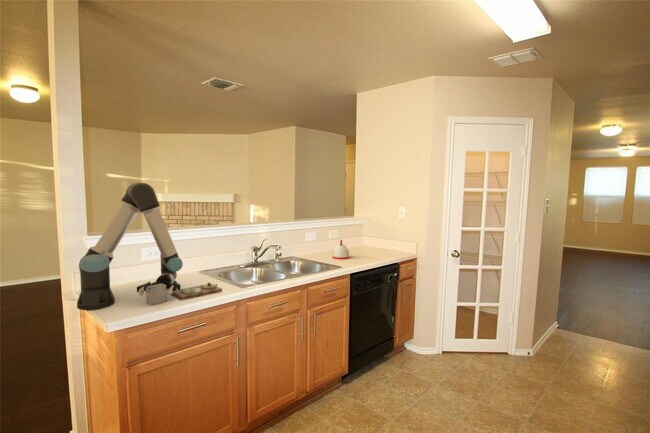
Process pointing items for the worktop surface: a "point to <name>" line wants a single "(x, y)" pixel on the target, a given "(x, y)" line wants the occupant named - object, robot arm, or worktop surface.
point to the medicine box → (156, 294)
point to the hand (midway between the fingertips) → (155, 292)
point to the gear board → (196, 291)
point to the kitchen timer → (340, 252)
